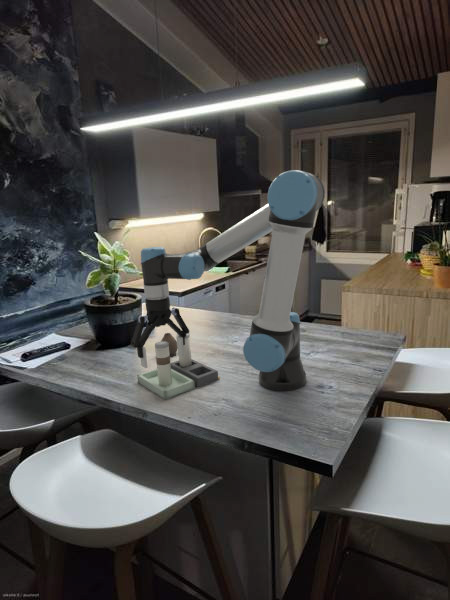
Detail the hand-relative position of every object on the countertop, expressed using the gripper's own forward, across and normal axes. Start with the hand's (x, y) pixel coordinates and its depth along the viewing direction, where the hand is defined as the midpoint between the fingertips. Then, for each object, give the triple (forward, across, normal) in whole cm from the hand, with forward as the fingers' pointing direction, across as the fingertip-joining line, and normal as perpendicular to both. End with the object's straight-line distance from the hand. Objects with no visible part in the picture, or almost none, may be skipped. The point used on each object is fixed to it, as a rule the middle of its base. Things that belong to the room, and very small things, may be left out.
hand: (163, 360), depth 132 cm
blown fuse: (+8, 0, 0) cm, 8 cm away
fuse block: (+8, -11, 0) cm, 14 cm away
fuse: (+8, -11, -4) cm, 15 cm away
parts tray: (+8, 0, 0) cm, 8 cm away
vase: (+9, -16, -24) cm, 30 cm away
